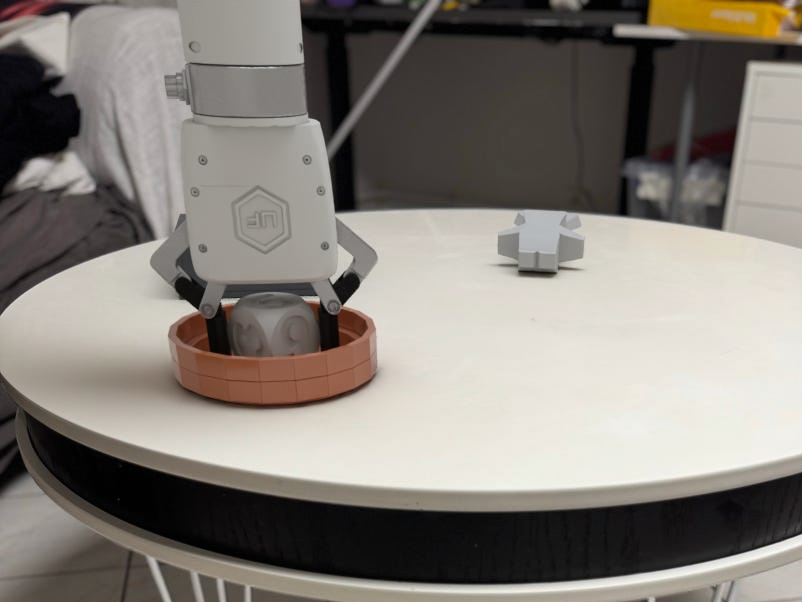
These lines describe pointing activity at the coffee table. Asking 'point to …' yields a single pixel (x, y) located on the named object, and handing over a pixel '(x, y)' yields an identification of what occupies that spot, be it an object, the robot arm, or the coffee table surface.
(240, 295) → the bin
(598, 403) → the coffee table surface
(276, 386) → the bowl
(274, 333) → the die
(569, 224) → the grey angular piece
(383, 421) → the coffee table surface
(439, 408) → the coffee table surface
